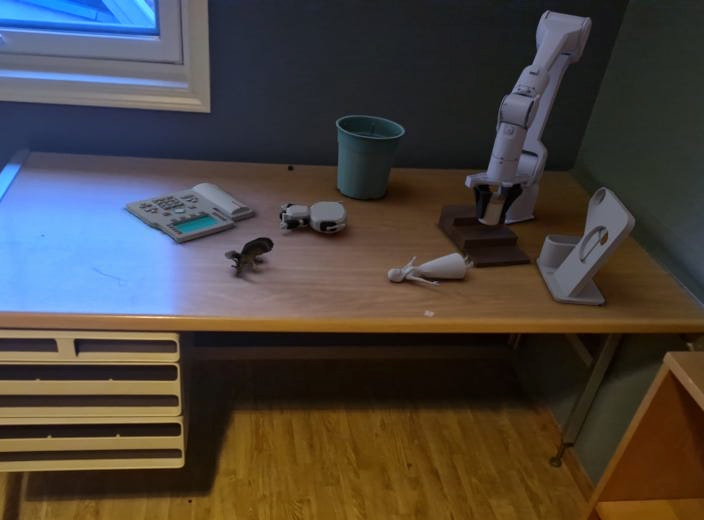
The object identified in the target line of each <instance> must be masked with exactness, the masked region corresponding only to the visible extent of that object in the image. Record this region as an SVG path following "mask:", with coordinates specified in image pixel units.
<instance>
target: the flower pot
mask: <svg viewBox="0 0 704 520" xmlns="http://www.w3.org/2000/svg"><path fill="white" fill-rule="evenodd" d="M335 125H336V128H337V142H338V157H337V181H336V182H337V185H336V186H337V187H336V188H337V190H339V191H340V193H341V194H343V195H345V196H347V197H349V198H353V199H357V200H368V199H373V200H376V199H380V198H382V197H383V196H384V195H385V194H386V190H387V187H388V184H389V183H388V182H389V179H390V176H391V173H392V172H391V171H392V168H393V164H394V160H395V157H396V154H397V150H398V149H399V148H400V147H399V146H400V143H401V139H402V137H403V136H404V135H405V133H406V130H405V128H404V127H403V125H401V124H399V123H397V122H395V121H393V120H389V119H387V118H383V117H378V116H371V115H361V114H360V115H358V114H357V115H346V116H342V117H340V118H338V119H337V120H336V121H335Z"/></svg>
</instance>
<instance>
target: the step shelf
mask: <svg viewBox="0 0 704 520" xmlns="http://www.w3.org/2000/svg"><path fill="white" fill-rule="evenodd" d="M506 216H507V215H506V214H505V216H504V218H500V220H499V223H498V224H496V225H487V224H484V223H482V222H480V221H479V219H478V217H477V216H476V203H467V204H465V203H463V204H442V206H441V210H440V215H439V219H438V223H437V226H438V227H439V228H440V229H441V230H442V231H443V233H444V234H445V235H446V236H447V237H448V238H449V239H450V240H451V242H453V244H454V245H455V246H456V247H457V248H458V249H459V251H461V252H462V254H463V255H464V256H465V258H466V257H467V256H468V261H469V262H470V263H471V262H472V261H473V267H475V268H483V267H497V266H499V267H500V266H511V265H526V264H527V265H529V264H531V261H532V259H531V258H530V257H529V256H528V255H527V254H526V253H525V252H524V251H523V250H522V249H521V248H520V247H519V246H518V245H517V243H518V240H519V236H518V235H517V234H516V233H515V232H514V231H513V230H512V229H511V228H510V227H509V226H508V225H507V224H505V219H506Z"/></svg>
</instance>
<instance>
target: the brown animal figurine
mask: <svg viewBox="0 0 704 520" xmlns="http://www.w3.org/2000/svg"><path fill="white" fill-rule="evenodd" d="M274 246H275V243H274V241H273V240H272V239H271V238H270V237H265V236H264V237H263V236H260V237H257V238H255V239H252V240H250V241H247V242H246V243H245V244H244V246H243V247H242V250H241V252H238V251H237V250H234V249H232V250H228V251H226V252H225V253H224V257H225V258H226V259H228V260H231V261H233V262H234V263H235V265H234V264H231V265H230V267H231V268H234V269H235V270H236V272H235V277H238V276H240V275H241V274H242V272H243V270H244V269H245V268H247V267H248V268H250V269H252V270H254V272H256V273H259V270H258V269H259V268H258V266H257V265H256V263H255V262H254V261H259V262H264V259H262V257H261V258H260V257H259V256H262V255H264V254H267V253H269V252H271V251H273V248H274Z"/></svg>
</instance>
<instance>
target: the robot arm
mask: <svg viewBox="0 0 704 520" xmlns="http://www.w3.org/2000/svg"><path fill="white" fill-rule="evenodd" d="M592 24H593V21H592V19H591V17H588V16H587V17H584V16H578V15H573V14H566V13H560V12H556V11H551V10H546V11H545V12H543V14H542V15H541V17H540V19H539V23H538V26H537V27H536V32H535V40H536V42H535V43H536V54H535V57H534V59H533V62H532V64H531V65H528V66H526V67H525V68H524V69H523V70H522V72H521V74H520V75H519V77H518V79H517V81H516V83H515V85H514V87H513V88H512V91H511V93H509V94H506V95H505V96H504V97H503V98H502V101H501V102H500V106H499V109H498V113H497V123H496V127H495V132H496V135H495V140H494V143H493V148H492V152H491V155H490V159H489V163H488V167H487V170H486V171H485V172H480V173H476V174H471V175H470V174H469V175H467V176H466V178H465V182H464V185H465V186H466V187H467V188H469V189H472V190H473V194H474V199H475V200H474V201H475V204H476V216H477V217H478V218H479V219H483V217H484V215H485V211H486V208H487V205H488V202H489V200H490V198H491V197H492V195H493V193H492V192H493V191H491V187H498V188H497V191H496V193H499V194H502V195H504V196H505V197H506V201H505V203H504V205H503V209H502V212H501V216H500V218H504V216H505V214H506V215H507V216H506V219H505V223H504V224H505V225H510V224H515V223H518V222H519V223H520V222H523V221H528V220H532V219H535V215H533V213H534V210H535V207H536V204H537V200H538V196H539V194H540V187H539V181H540V180H541V178H542V176H543V173H544V170H545V167H546V164H547V163H546V162H547V159H548V156H549V155H548V149H547V147H545V145H544V144H543V142H542V140H541V139H542V135H543V133H544V130H545V127H546V124H547V122H548V119H549V116H550V113H551V110H552V108H553V105H554V102H555V100H556V96H557V94H558V92H559V88H560V85H561V83H562V80H563V77H564V74H565V72H566V71H567V69H568V68H569V65H570V64H573V63H577V62H579V61H580V58H581V57H582V55H583V52H584V49H585V46H586V43H587V41H588V38H589V36H590V32H591V29H592ZM523 151H526V152H523ZM527 152H529V153H527ZM531 153H533V154H531ZM535 154H536V155H535Z"/></svg>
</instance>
